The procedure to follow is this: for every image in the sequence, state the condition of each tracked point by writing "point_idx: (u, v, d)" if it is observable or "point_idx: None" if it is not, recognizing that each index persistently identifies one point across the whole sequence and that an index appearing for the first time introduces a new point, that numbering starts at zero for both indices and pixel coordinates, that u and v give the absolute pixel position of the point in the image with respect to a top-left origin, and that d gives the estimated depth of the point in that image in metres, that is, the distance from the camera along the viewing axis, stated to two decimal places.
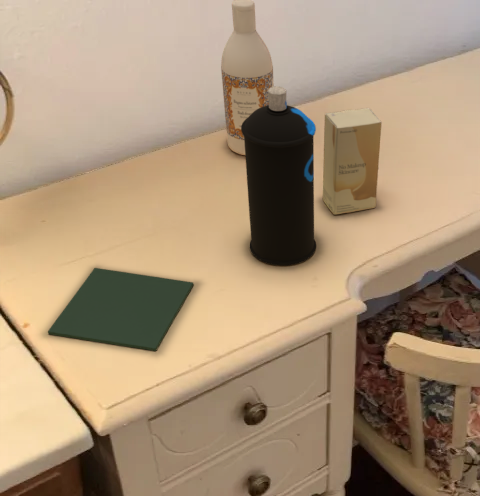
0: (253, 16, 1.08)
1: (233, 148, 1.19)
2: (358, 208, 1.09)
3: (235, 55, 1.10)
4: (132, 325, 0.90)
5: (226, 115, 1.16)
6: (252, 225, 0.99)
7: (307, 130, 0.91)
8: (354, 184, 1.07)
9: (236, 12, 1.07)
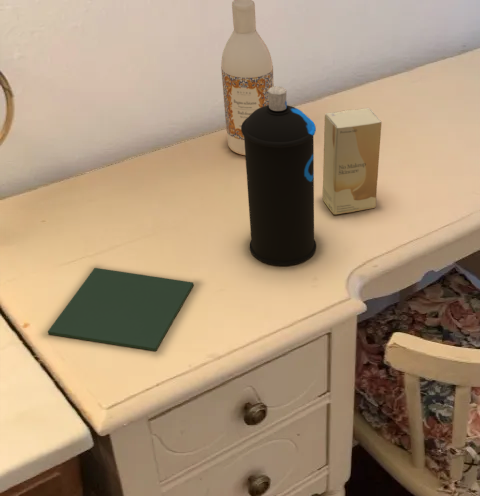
0: (253, 16, 1.08)
1: (233, 148, 1.19)
2: (358, 208, 1.09)
3: (235, 55, 1.10)
4: (132, 325, 0.90)
5: (226, 115, 1.16)
6: (252, 225, 0.99)
7: (307, 130, 0.91)
8: (354, 184, 1.07)
9: (236, 12, 1.07)
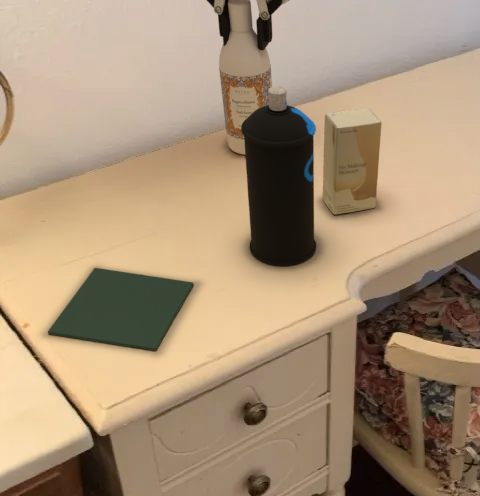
0: (249, 15, 1.08)
1: (233, 148, 1.19)
2: (358, 208, 1.09)
3: (232, 54, 1.10)
4: (132, 325, 0.90)
5: (225, 115, 1.16)
6: (252, 225, 0.99)
7: (307, 130, 0.91)
8: (354, 184, 1.07)
9: (232, 11, 1.07)
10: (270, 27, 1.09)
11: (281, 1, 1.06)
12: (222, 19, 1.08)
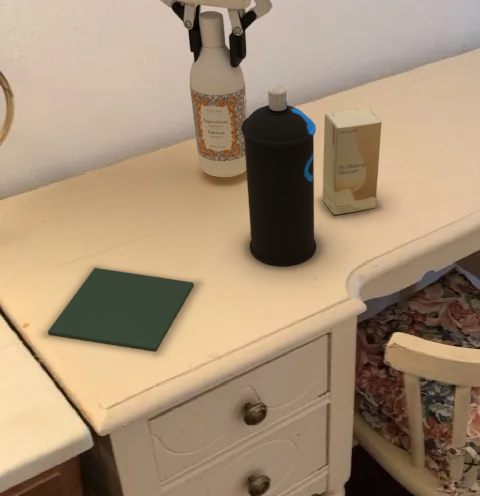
0: (222, 30, 1.01)
1: (205, 169, 1.12)
2: (358, 208, 1.09)
3: (203, 71, 1.03)
4: (132, 325, 0.90)
5: (196, 135, 1.10)
6: (252, 225, 0.99)
7: (307, 130, 0.91)
8: (354, 184, 1.07)
9: (203, 25, 1.00)
10: (244, 43, 1.02)
11: (255, 16, 0.99)
12: (192, 34, 1.01)
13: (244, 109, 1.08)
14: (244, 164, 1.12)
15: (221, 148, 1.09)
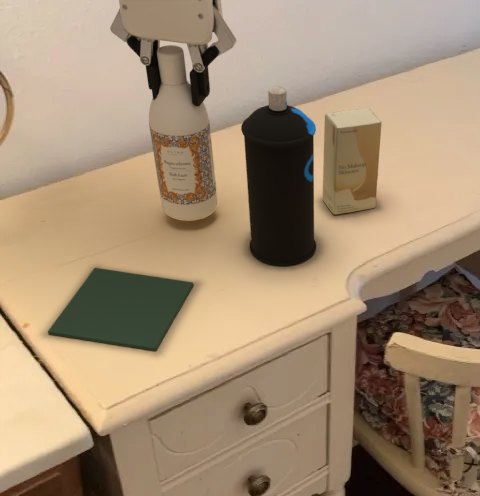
0: (182, 66, 0.93)
1: (167, 212, 1.04)
2: (358, 208, 1.09)
3: (163, 110, 0.94)
4: (132, 325, 0.90)
5: (157, 176, 1.01)
6: (252, 225, 0.99)
7: (307, 130, 0.91)
8: (354, 184, 1.07)
9: (162, 61, 0.92)
10: (206, 80, 0.94)
11: (217, 51, 0.91)
12: (150, 71, 0.93)
13: (209, 149, 1.00)
14: (210, 207, 1.04)
15: (184, 191, 1.01)
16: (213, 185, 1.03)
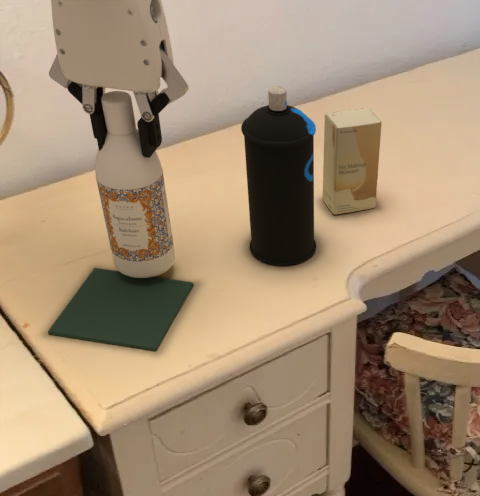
0: (130, 114, 0.84)
1: (119, 269, 0.95)
2: (358, 208, 1.09)
3: (109, 162, 0.85)
4: (132, 325, 0.90)
5: (107, 230, 0.92)
6: (252, 225, 0.99)
7: (307, 130, 0.91)
8: (354, 184, 1.07)
9: (107, 109, 0.83)
10: (157, 129, 0.85)
11: (168, 99, 0.82)
12: (94, 120, 0.84)
13: (162, 202, 0.91)
14: (166, 262, 0.95)
15: (135, 248, 0.92)
16: (169, 239, 0.94)
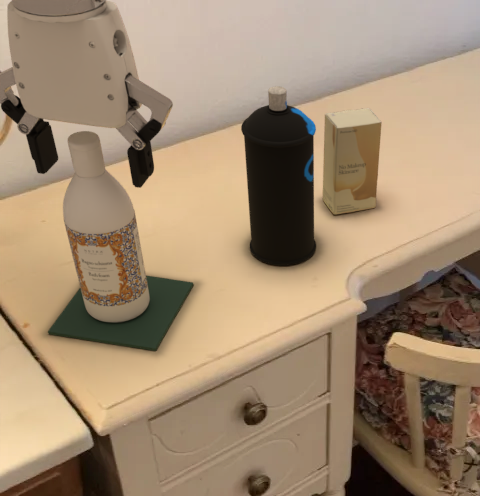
0: (98, 156, 0.79)
1: (90, 313, 0.90)
2: (358, 208, 1.09)
3: (77, 206, 0.81)
4: (132, 325, 0.90)
5: (77, 273, 0.88)
6: (252, 225, 0.99)
7: (307, 130, 0.91)
8: (354, 184, 1.07)
9: (73, 151, 0.79)
10: (149, 157, 0.79)
11: (158, 123, 0.76)
12: (30, 141, 0.78)
13: (135, 245, 0.86)
14: (139, 306, 0.90)
15: (106, 292, 0.87)
16: (142, 282, 0.90)
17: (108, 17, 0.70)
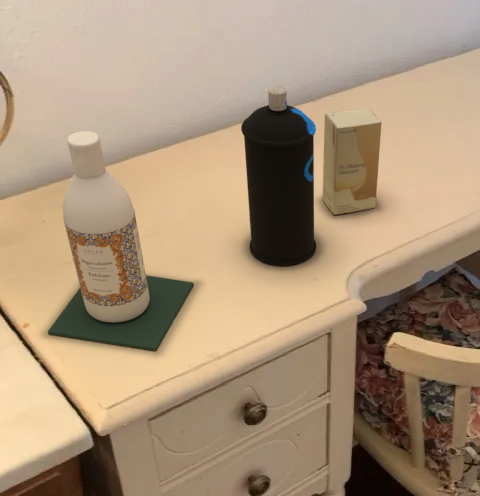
0: (98, 156, 0.79)
1: (90, 313, 0.90)
2: (358, 208, 1.09)
3: (77, 206, 0.81)
4: (132, 325, 0.90)
5: (77, 274, 0.88)
6: (252, 225, 0.99)
7: (307, 130, 0.91)
8: (354, 184, 1.07)
9: (73, 151, 0.79)
10: None
11: None
12: None
13: (135, 245, 0.86)
14: (139, 306, 0.90)
15: (106, 292, 0.87)
16: (142, 282, 0.90)
17: None
